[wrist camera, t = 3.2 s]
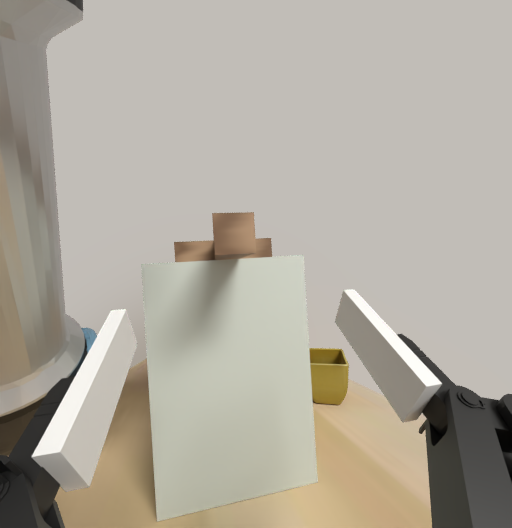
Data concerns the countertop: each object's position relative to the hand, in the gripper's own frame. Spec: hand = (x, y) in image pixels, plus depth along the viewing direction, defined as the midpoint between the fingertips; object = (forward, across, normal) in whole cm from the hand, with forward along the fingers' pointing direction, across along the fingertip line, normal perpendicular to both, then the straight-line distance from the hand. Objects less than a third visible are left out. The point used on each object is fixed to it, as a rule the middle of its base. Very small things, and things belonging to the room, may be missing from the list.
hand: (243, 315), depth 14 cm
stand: (+4, 0, -32) cm, 32 cm away
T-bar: (+13, 0, -3) cm, 13 cm away
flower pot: (+14, +20, -38) cm, 46 cm away
